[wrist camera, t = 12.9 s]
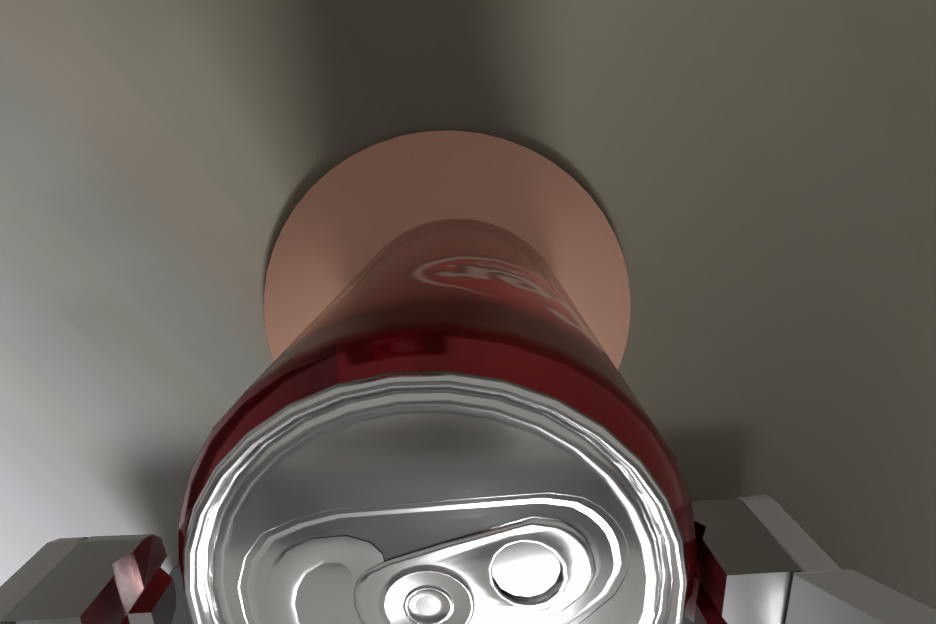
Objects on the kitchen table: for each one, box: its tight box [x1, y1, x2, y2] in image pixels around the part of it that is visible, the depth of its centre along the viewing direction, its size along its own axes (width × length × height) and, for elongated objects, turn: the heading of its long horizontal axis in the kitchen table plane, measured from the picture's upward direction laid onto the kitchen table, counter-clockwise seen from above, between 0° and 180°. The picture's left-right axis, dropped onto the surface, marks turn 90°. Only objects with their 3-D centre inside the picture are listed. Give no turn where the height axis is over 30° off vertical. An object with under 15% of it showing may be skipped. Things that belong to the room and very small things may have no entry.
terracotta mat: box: [264, 130, 631, 370], centre depth 19 cm, size 13×13×1 cm
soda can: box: [179, 219, 697, 624], centre depth 12 cm, size 7×7×12 cm
